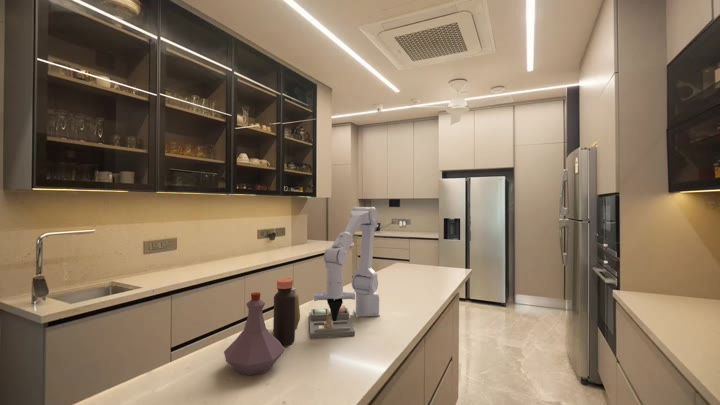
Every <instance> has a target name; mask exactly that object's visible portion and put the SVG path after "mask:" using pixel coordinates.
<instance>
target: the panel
mask: <svg viewBox="0 0 720 405" xmlns="http://www.w3.org/2000/svg"><path fill="white" fill-rule="evenodd" d="M316 309H317V308H312V309H311V310H310V312H308V314H309V319H308V320H309V335H310V336H309V337H310V339H321V338H324V339H325V338H339V337H355V335H356V333H355V332H356V330H355V328H354V327H353V326H354V325H353V324H352V321H351V319H350V312H349V310H348V307H345V313H340V314H338V315H337V321H333V320H332V313H331V310H330V311H329V308H324V309H325V310H326V314H317V315H314V311H315V310H316ZM327 312H330V313H331V322H333V326H334V328H325V326H324V322H326V315H327Z"/></svg>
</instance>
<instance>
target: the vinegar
mask: <svg viewBox="0 0 720 405" xmlns="http://www.w3.org/2000/svg"><path fill="white" fill-rule="evenodd" d="M293 284H294V283H293V279H292V278H291V279H288V278H281V279H280V278H279V279H278V280H277V281H276V290H277V292H276V293H275V294H274V295H273V320H272V321H273V324H272V325H273V329H272V330H273V331H272V332H273V334H272V335H273V336H274V337H275V338H276V339H277V340H278V341H279V342H280V343H281V344H282V346H283V347H287V346H291V345H293V344H294V343H295V341H296V340H295V339H296V338H295V337H296V329H295V294H294V293H293V292H292V291H291V289H292V287H294V285H293Z"/></svg>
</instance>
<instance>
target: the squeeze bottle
mask: <svg viewBox="0 0 720 405" xmlns="http://www.w3.org/2000/svg"><path fill="white" fill-rule="evenodd" d="M287 279H291V280H292V277H287ZM291 291H292V292H293V293H294V294H295V330H296V329H298V326H299V322H300V320H301V311H300V300H299V294H298V293H296V292H297V288H296V286H295V287H294V286H293V287H292V289H291Z"/></svg>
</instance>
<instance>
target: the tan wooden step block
mask: <svg viewBox="0 0 720 405" xmlns="http://www.w3.org/2000/svg"><path fill="white" fill-rule="evenodd" d="M324 326H325V328H334V326H333V322H331V313H330V312H327V315H326V322H324Z"/></svg>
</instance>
